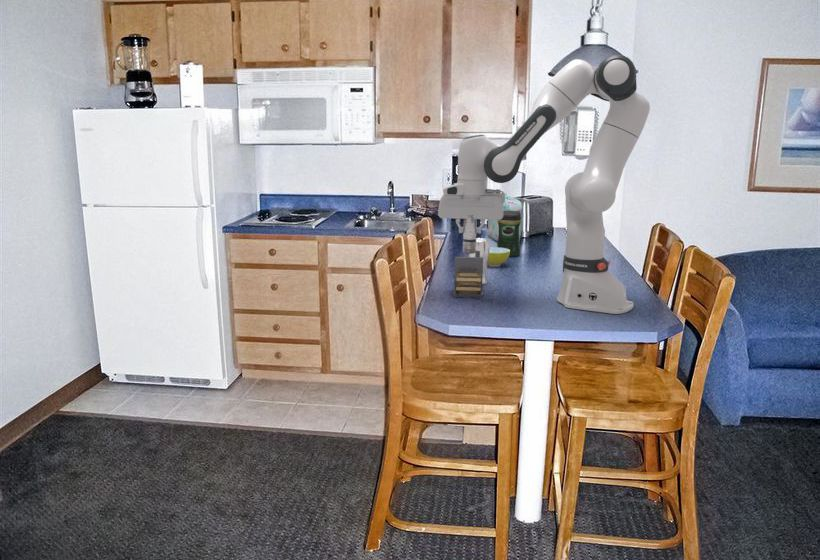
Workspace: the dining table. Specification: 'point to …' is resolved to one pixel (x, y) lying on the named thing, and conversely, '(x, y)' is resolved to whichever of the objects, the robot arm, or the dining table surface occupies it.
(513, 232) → the coffee jar
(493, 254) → the bowl
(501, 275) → the dining table surface
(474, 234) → the metal cylinder
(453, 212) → the robot arm
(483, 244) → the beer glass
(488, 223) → the lunch box
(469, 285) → the stand
